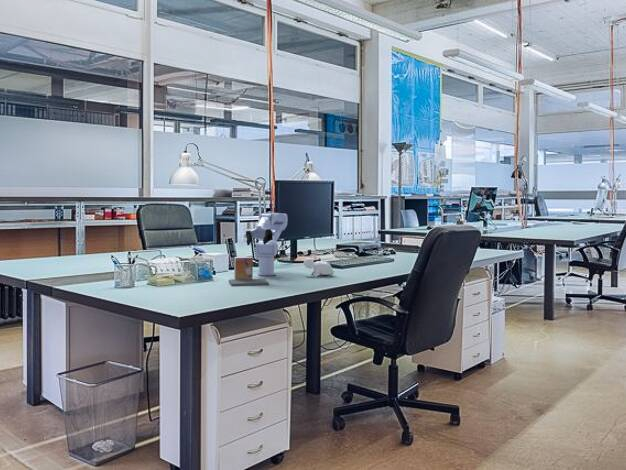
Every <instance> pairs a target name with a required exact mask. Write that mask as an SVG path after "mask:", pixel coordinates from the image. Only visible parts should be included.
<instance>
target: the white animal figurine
mask: <svg viewBox="0 0 626 470" xmlns="http://www.w3.org/2000/svg"><path fill="white" fill-rule="evenodd" d="M303 266H304V267H305V268H307V269H309V270H312V269H313V270H312V271H311V273H310V274H312V276H313V277H314V278H317V277H318V276H319V275H320V276H331V277H333V276H334V274H335V270H334V269H333V267H332V265H331V264H330V263H329V262H328V261H319V260H317V261H314V260H313V259H312V258H311V257H307V258H305V259H304V260H303Z"/></svg>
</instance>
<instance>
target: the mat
mask: <svg viewBox="0 0 626 470" xmlns="http://www.w3.org/2000/svg"><path fill="white" fill-rule="evenodd" d="M228 283H229V284H230V285H231V287H239V286H241V287H242V286H243V287H244V286H245V287H246V286H248V285H249V286H269V285H270V283H269V281H268V280H267V279H266V278H253V279H228Z"/></svg>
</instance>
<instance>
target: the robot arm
mask: <svg viewBox="0 0 626 470" xmlns="http://www.w3.org/2000/svg"><path fill="white" fill-rule="evenodd" d="M287 226H288V214H287V213H281V212H273V211H267V212H266V213H261V214H259V217H258V222H257V226H256V227H255V228H254V229H251V230H246V231H245V232H244V233H243V236H244V238H245V239H246V245H247V246H250V245H251V243H252V242H253V241H254V239H256V240H260V241H257V243H256V244H255V254H256V255H257V258H258V271H257V272H256V274H257V275H259V276H277V274H276V272H275V256H277V254H278V249H279V246H278V242H277V241H278V239H279V238H280V236H281V234H282V232H283V231H285V229H286V228H287Z"/></svg>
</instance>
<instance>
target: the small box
mask: <svg viewBox="0 0 626 470" xmlns="http://www.w3.org/2000/svg"><path fill="white" fill-rule="evenodd" d="M253 259H254V258H253V257H252V256H235V257H234V261H233V262H234V269H233V271H234V273H233V274H234V275H233V278H234V279H254V277H253V275H254V274H253V273H254V271H253V269H254V268H253V261H254V260H253Z"/></svg>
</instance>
